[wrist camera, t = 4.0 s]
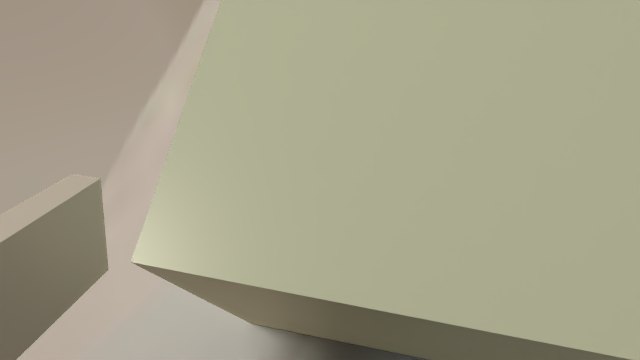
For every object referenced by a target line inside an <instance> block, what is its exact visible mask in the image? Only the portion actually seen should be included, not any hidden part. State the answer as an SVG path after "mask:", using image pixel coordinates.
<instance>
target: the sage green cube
mask: <svg viewBox="0 0 640 360" xmlns="http://www.w3.org/2000/svg"><path fill="white" fill-rule="evenodd" d="M131 262H132V263H134V264H136V265H137V266H139V267H141V268H143V269H145V270H147V271H149V272H151V273H153V274H155V275H157V276H159V277H161V278H163V279H165V280H167V281H169V282H171V283H173V284H175V285H177V286H179V287H181V288H183V289H184V290H186V291H188V292H190V293H192V294H194V295H196V296H198V297H200V298H202V299H204V300H206V301H208V302H210V303H212V304H214V305H216V306H218V307H220V308H222V309H224V310H226V311H228V312H230V313H231V314H233V315H235V316H237V317H239V318H241V319H243V320H245V321H247V322H249V323H252V324H256V325H261V326H266V327H271V328H276V329H281V330H286V331H291V332H296V333H301V334H306V335H310V336H315V337H320V338H325V339H330V340H335V341H340V342H345V343H350V344H355V345H360V346H365V347H369V348H374V349H379V350H384V351H389V352H394V353H399V354H404V355H409V356H414V357H419V358H423V359H428V360H640V0H221V2H220V5H219V8H218V11H217V14H216V17H215V19H214V22H213V25H212V28H211V31H210V34H209V37H208V40H207V43H206V46H205V48H204V51H203V54H202V57H201V60H200V63H199V66H198V69H197V72H196V74H195V77H194V80H193V83H192V86H191V89H190V92H189V95H188V98H187V101H186V103H185V106H184V109H183V112H182V115H181V118H180V121H179V124H178V127H177V129H176V132H175V135H174V138H173V141H172V144H171V147H170V150H169V153H168V155H167V158H166V161H165V164H164V167H163V170H162V173H161V176H160V179H159V182H158V184H157V187H156V190H155V193H154V196H153V199H152V202H151V205H150V208H149V210H148V213H147V216H146V219H145V222H144V225H143V228H142V231H141V234H140V237H139V239H138V242H137V245H136V248H135V251H134V254H133V257H132V260H131Z"/></svg>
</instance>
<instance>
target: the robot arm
mask: <svg viewBox="0 0 640 360" xmlns="http://www.w3.org/2000/svg"><path fill="white" fill-rule="evenodd" d="M107 270H108V260H107V248H106V237H105V225H104V213H103V202H102V190H101V179H100V178H95V177H89V176H83V175H76V174H71V175H69V176H68V177H66V178H64V179H62V180H61V181H59V182H57V183H55V184H54V185H52V186H50V187H48V188H47V189H45V190H43V191H41V192H40V193H38V194H36V195H34V196H32V197H31V198H29V199H27V200H25V201H24V202H22V203H20V204H19V205H17V206H15V207H14V208H11V209H10V210H8V211H6V212H4V213H3V214H1V215H0V360H16V359H17V358H18V357H19V356H20V355H21V354H22V353H23V352H24V351H25V350H26V349H27V348H28V347H30V346H31V345H32V344H33V343H34V342H35V341H36V340H37V339H38V338H39V337H40V336H41V335H42V334H43V333H44V332H45V331H46V330H47V329H48V328H49V327H50V326H51V325H52V324H53V323H54V322H55V321H56V320H57V319H58V318H59V317H60V316H61V315H62V314H63V313H64V312H65V311H66V310H67V309H69V308H70V307H71V306H72V305H73V304H74V303H75V302H76V301H77V300H78V299H79V298H80V297H81V296H82V295H83V294H84V293H85V292H86V291H87V290H88V289H89V288H90V287H91V286H92V285H93V284H94V283H95V282H96V281H97V280H98V279H99V278H100V277H101V276H102V275H103V274H104V273H105V272H106V271H107Z"/></svg>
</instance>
